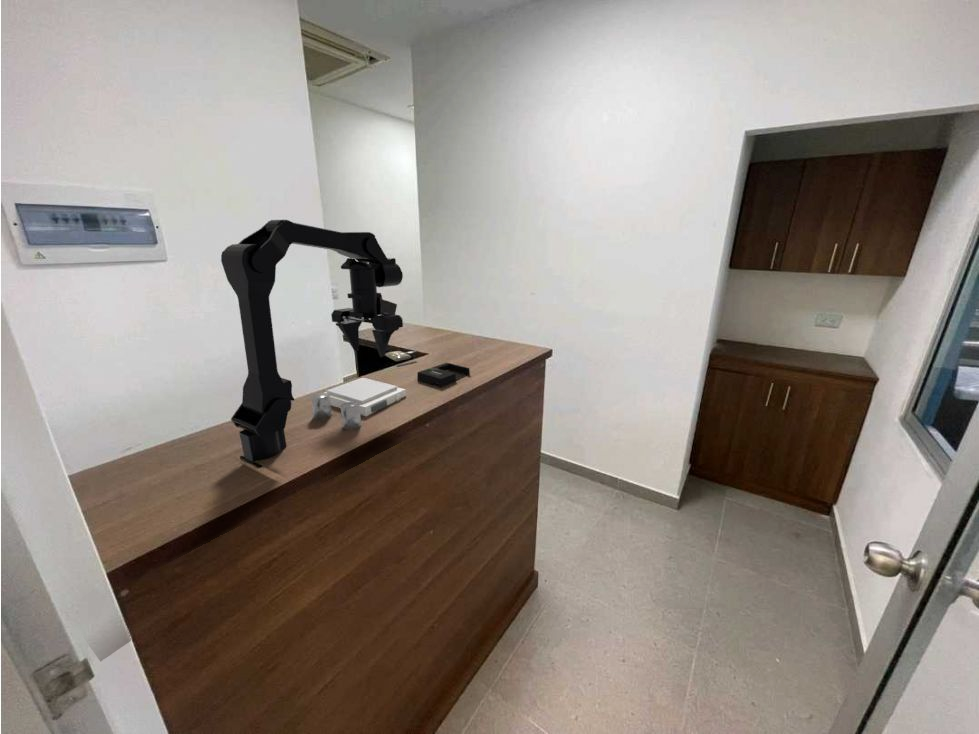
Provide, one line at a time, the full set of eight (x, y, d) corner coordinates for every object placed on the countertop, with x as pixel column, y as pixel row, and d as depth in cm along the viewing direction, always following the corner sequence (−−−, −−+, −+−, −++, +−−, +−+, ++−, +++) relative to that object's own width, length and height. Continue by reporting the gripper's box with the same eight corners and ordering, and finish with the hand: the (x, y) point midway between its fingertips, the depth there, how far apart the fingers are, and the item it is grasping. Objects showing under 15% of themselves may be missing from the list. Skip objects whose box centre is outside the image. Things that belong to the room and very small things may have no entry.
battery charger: (441, 392, 108) (440, 379, 107) (417, 384, 113) (416, 372, 112) (469, 380, 118) (470, 368, 117) (446, 374, 123) (446, 362, 122)
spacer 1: (321, 420, 89) (318, 400, 87) (310, 416, 90) (307, 397, 89) (335, 414, 92) (333, 395, 90) (324, 410, 94) (322, 391, 92)
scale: (367, 416, 91) (366, 404, 90) (321, 402, 99) (320, 390, 98) (407, 398, 102) (406, 386, 101) (363, 386, 110) (362, 375, 109)
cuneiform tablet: (397, 355, 126) (382, 347, 135) (398, 368, 127) (383, 359, 136) (416, 351, 130) (401, 344, 139) (417, 364, 131) (401, 356, 140)
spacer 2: (351, 431, 84) (348, 410, 82) (338, 426, 86) (336, 406, 84) (365, 424, 87) (363, 404, 86) (353, 420, 89) (351, 400, 87)
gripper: (417, 289, 91) (420, 352, 96) (363, 284, 100) (368, 341, 105) (382, 293, 82) (386, 362, 87) (326, 287, 91) (333, 350, 96)
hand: (369, 353), depth 94 cm, fingers open, 9 cm apart
